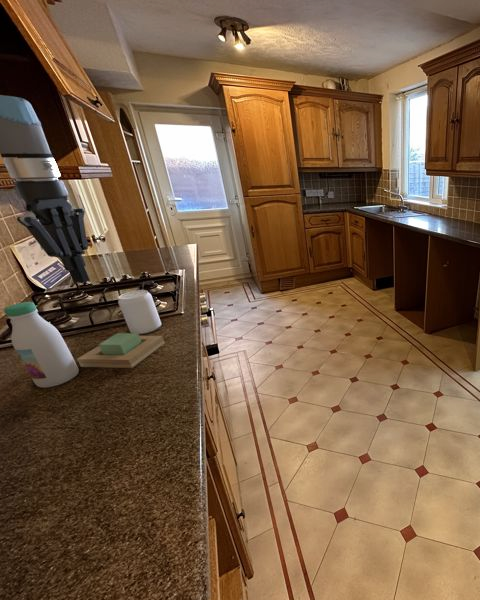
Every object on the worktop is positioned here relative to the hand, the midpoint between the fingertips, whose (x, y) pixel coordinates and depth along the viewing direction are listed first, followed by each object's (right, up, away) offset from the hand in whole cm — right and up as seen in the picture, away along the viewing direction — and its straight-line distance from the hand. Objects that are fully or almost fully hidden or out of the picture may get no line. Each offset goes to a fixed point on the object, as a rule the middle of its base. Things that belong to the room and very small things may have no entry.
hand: (81, 281), depth 79 cm
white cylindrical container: (-2, -14, +23) cm, 27 cm away
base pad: (+3, -20, +10) cm, 22 cm away
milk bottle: (-6, -24, 0) cm, 25 cm away
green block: (+3, -19, +9) cm, 21 cm away
